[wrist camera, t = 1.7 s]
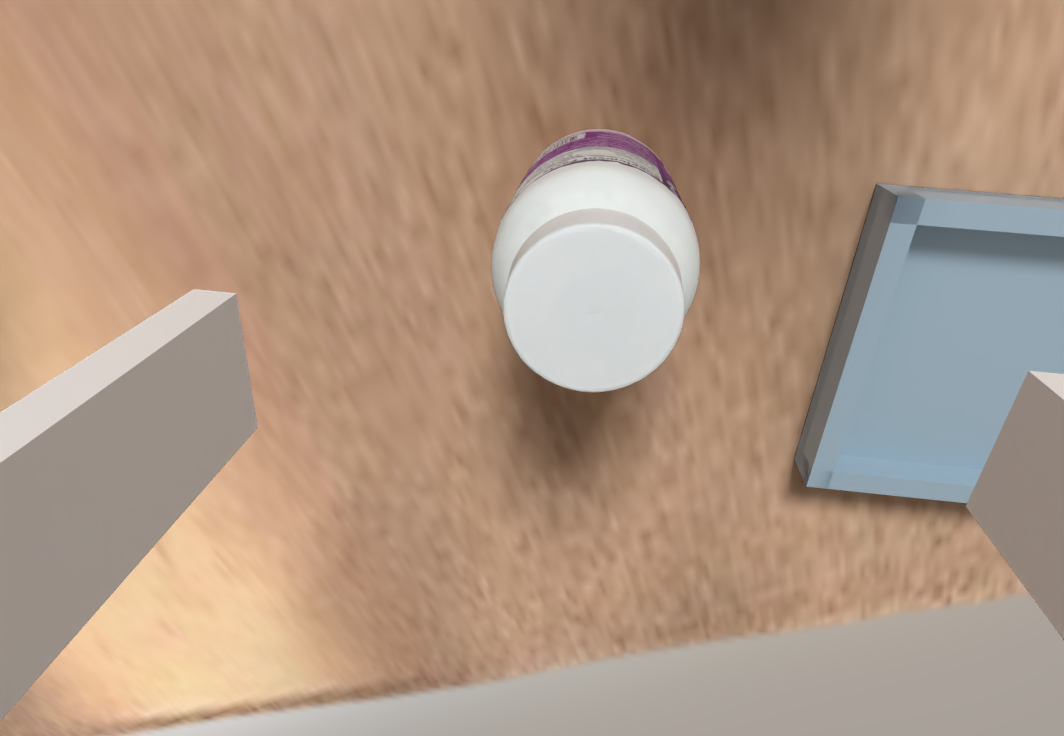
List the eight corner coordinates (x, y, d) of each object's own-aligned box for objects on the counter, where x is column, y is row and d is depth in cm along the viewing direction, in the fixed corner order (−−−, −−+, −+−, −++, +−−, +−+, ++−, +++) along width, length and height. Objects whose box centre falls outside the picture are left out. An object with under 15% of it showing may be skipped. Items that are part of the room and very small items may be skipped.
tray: (794, 459, 27) (806, 486, 25) (876, 183, 22) (898, 196, 20) (1156, 495, 26) (1192, 526, 24) (1331, 219, 21) (1392, 235, 19)
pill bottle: (663, 285, 24) (696, 432, 15) (516, 274, 24) (471, 412, 16) (686, 128, 21) (741, 201, 13) (522, 118, 22) (471, 182, 13)
